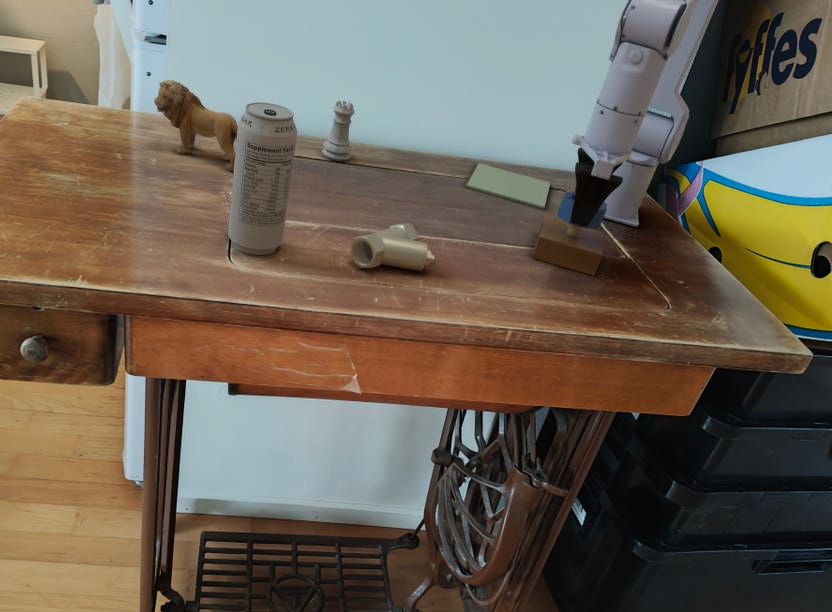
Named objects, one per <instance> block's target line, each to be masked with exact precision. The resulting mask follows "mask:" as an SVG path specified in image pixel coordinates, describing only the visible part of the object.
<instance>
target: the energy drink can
mask: <svg viewBox="0 0 832 612" xmlns="http://www.w3.org/2000/svg"><path fill="white" fill-rule="evenodd" d="M294 116H295V114H294V112H293V110H291V109H289V108H288V107H285V106H282V105H280V104H275V103H270V102H250V103H247V104H246V106H245V111H244V113H243V114H242V116H241V117H240V119H238V123H237V126H238V131H237V141H236V142H235V143H236V144H235V152H234V153H235V164H234V170H233V177H232V185H231V198H230V208H229V209H230V210H229V221H228V230H227V231H228V232H227V235H228V238H229V239H230V240H231V244H232V245H233V247H234V248H235V249H237V250H238V251H240V252H243V253H245V254H248V255H254V256H264V255H265V256H266V255H270V254H272V253H274V252H275V251H276V250H277V248H278V247H279V246H280V245H282V243H283V240H284V232H285V225H286V217H287V210H288V204H289V203H288V202H289V195H290V189H291V182H292V174H293V167H294V159H295V152H296V145H297V137H298V129H297V126H296V124H295V120H294Z"/></svg>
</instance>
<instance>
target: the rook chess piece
mask: <svg viewBox="0 0 832 612" xmlns="http://www.w3.org/2000/svg"><path fill="white" fill-rule="evenodd" d="M332 111H333V112H334V117H332V121H333V123H332V127H331V131H330V134H329V136H328V137H327V138H326V139H327V140H325V141H324V142H323V148H324V149H323V148H322V150H321V153H322V155H323V156H324V158H326V159H328V160H331V161H335V162H347V161H349V159H351V157H352V155H351V154H350V153H351V152H352V146H351V144H350V143H351V142H350V139H349V135H350V125H351V124H352V120H351V118H352V117H353V115H354V114H355V109H354V104H353V103H352V102H350V101H349V102H348V104H347V101H346V100H343V101H341V100H337V101H336V103H335V105H334V106H333V108H332Z"/></svg>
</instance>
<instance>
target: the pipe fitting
mask: <svg viewBox="0 0 832 612" xmlns="http://www.w3.org/2000/svg"><path fill="white" fill-rule="evenodd" d="M419 239H420V237H419V234H418V232H417V231H416V228H415V227H414V226H413V225H412V223H409V222H408V223H407V222H406V223H397V224H393V225H390V226H389V228H386V229H383V230H380V231H377V232H374V233H371V234H362V235H358V236H356V237H354V238H353V240H352V243H351V245H350V255H351V258H352V259H353V262H354V263H355V264H356V266H357V267H358V268H360V269H372V268H376V267H378V266H380V265H384V266H390V267H393V268H400V269H405V270H411V271H417V272H423V269H424V268H425V267H426V266H427V267H429V265H430V264H433V263H434V262H435V255H434V254H432V250H429V248H428V243H426V242H422V241H419Z"/></svg>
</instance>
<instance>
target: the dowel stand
mask: <svg viewBox="0 0 832 612" xmlns="http://www.w3.org/2000/svg"><path fill="white" fill-rule="evenodd" d="M603 257H604V232H603V231H601V230H598V229H597V230H596V229H595V228H582V227H579V226H575V225H572V224H569V223H567V222H566V221H564V220H563V219H559V218H555V217H551V216H548V215H544V216H543V218H542V221H541V223H540V226H539V230H538V232H537V235H536V240H535V244H534V247H533V252H532V256H531V258H533V259H536V260H539V261H542V262H545V263H548V264H551V265H552V264H553V265H555V266H559V267H563V268H566V269H569V270H571V271H572V270H573V271H575V272H579V273H583V274H586V275H589V276H592V277H593V276H595V275H596V272H597V270H598V268H599V266H600V263H601V261H602V258H603Z"/></svg>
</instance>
